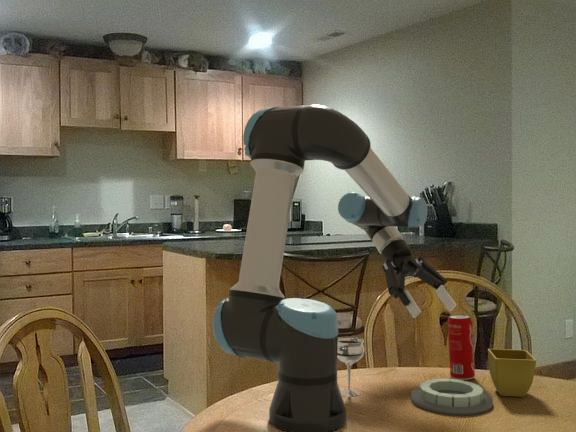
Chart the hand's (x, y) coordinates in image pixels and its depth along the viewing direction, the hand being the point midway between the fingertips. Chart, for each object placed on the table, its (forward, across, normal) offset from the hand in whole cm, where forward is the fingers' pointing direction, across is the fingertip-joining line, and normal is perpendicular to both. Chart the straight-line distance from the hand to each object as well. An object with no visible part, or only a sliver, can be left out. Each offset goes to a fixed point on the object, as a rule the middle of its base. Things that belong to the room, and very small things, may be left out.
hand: (435, 311), depth 167 cm
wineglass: (+11, +30, -10) cm, 34 cm away
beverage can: (+16, +1, -4) cm, 17 cm away
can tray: (+23, +17, +3) cm, 29 cm away
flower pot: (+27, +2, +6) cm, 27 cm away
